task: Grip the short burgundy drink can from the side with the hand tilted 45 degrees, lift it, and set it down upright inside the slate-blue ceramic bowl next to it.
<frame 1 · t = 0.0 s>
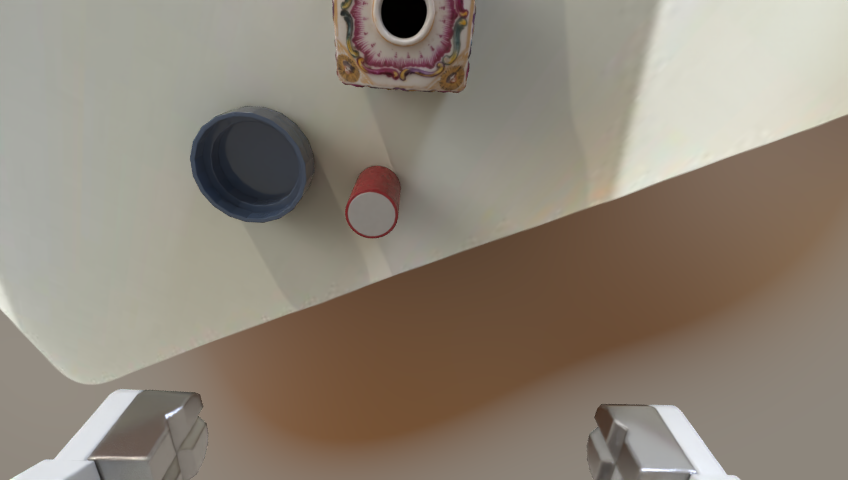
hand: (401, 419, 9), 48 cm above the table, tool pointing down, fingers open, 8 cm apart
bowl: (262, 159, 55), on the table
can: (378, 187, 57), on the table
decorative jar: (407, 21, 49), on the table
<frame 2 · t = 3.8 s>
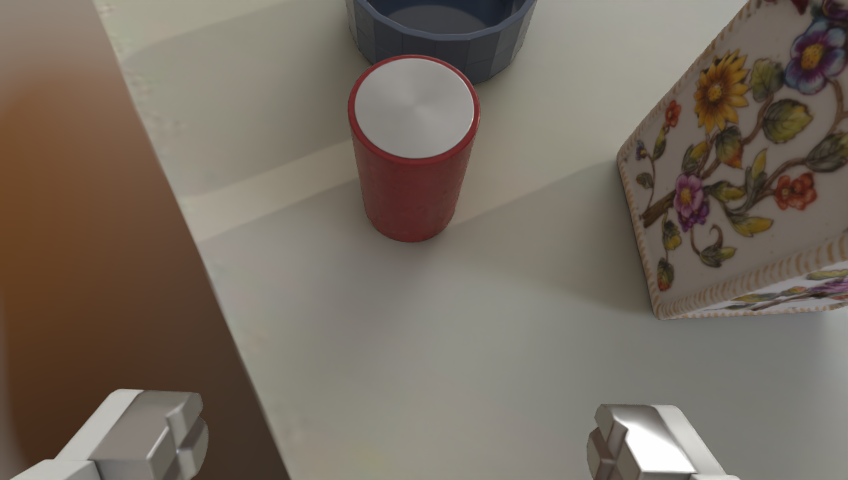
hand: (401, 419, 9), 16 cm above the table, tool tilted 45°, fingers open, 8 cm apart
bowl: (437, 23, 33), on the table
can: (410, 199, 28), on the table
decorative jar: (711, 228, 29), on the table
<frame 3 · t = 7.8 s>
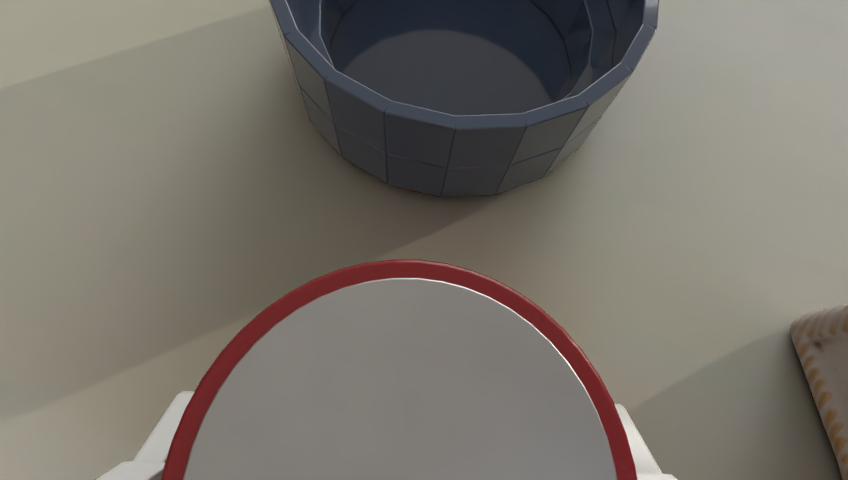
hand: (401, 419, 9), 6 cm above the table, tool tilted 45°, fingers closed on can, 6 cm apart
bowl: (449, 68, 19), on the table
can: (401, 434, 14), on the table, touching gripper
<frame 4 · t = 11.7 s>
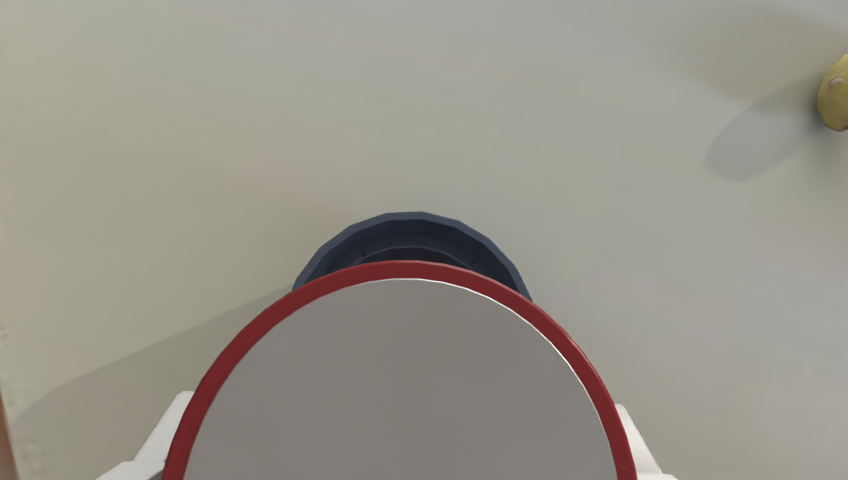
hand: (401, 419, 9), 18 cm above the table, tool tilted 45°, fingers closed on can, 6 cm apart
bowl: (409, 341, 27), on the table
can: (401, 434, 14), point 12 cm above the table, touching gripper
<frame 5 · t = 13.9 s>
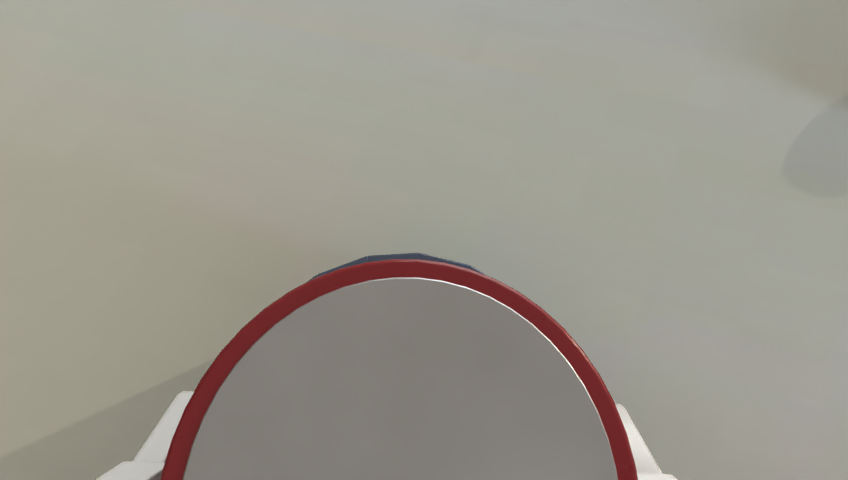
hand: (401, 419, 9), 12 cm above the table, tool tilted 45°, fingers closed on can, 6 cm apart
bowl: (403, 424, 20), on the table
can: (401, 434, 14), point 6 cm above the table, touching gripper
when the fingers open (6 cm above the table, at t = 16.0 s): can stays where it is, resting on bowl.
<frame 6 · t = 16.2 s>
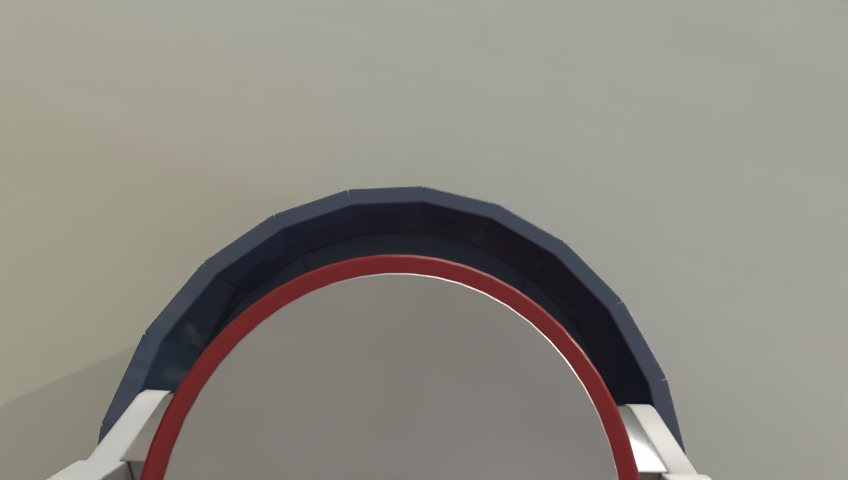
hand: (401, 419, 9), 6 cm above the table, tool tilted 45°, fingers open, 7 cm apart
bowl: (399, 434, 14), on the table
can: (398, 435, 14), point 1 cm above the table, touching bowl
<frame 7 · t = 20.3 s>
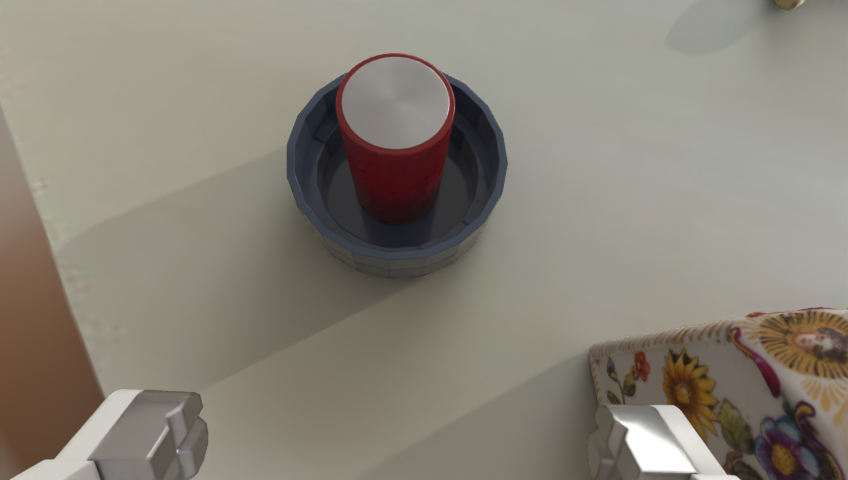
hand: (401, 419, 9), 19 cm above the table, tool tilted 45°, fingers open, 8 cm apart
bowl: (398, 188, 31), on the table
can: (397, 185, 30), point 1 cm above the table, touching bowl
decorative jar: (688, 433, 27), on the table
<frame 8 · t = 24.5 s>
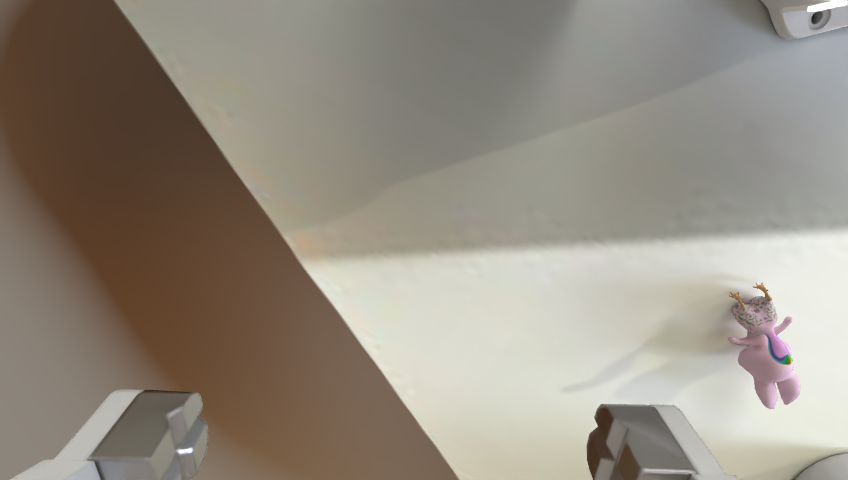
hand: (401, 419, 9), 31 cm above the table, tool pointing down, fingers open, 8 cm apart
pink antlered figurine: (750, 338, 47), on the table
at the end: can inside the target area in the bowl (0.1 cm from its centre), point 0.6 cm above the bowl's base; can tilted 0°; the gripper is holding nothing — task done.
